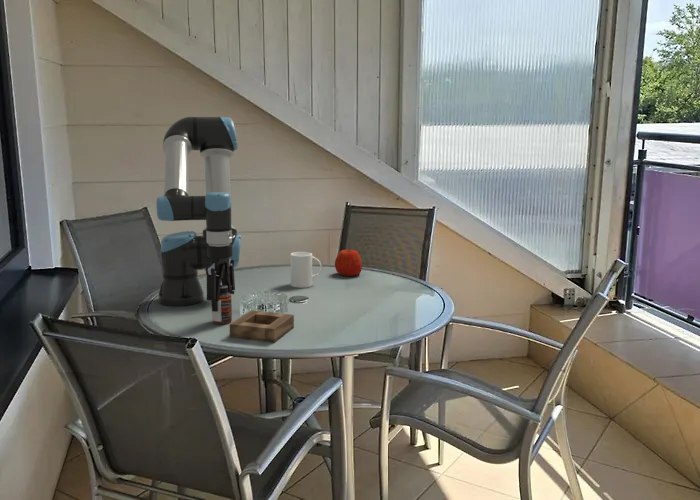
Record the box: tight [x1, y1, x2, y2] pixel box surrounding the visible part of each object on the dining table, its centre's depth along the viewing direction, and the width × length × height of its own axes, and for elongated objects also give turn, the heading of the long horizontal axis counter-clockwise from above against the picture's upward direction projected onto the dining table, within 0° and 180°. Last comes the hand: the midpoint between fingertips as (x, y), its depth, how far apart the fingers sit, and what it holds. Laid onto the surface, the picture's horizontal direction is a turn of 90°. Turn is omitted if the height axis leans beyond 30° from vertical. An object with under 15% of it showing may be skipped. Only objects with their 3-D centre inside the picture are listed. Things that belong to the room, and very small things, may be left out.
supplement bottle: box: [212, 284, 233, 325], centre depth 198 cm, size 6×6×11 cm
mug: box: [289, 251, 323, 289], centre depth 243 cm, size 12×8×12 cm
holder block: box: [229, 310, 295, 344], centre depth 190 cm, size 14×14×4 cm
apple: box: [334, 248, 363, 277], centre depth 259 cm, size 11×11×11 cm
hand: (222, 317), depth 199 cm, fingers closed on supplement bottle, 6 cm apart
